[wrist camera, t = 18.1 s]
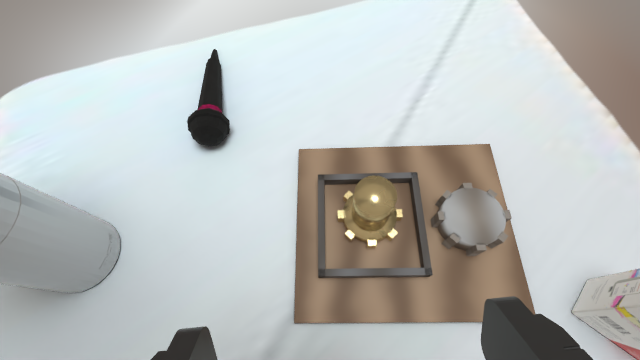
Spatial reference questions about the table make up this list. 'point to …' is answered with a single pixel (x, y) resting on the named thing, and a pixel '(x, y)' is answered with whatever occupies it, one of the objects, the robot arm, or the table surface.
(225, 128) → the microphone
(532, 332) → the robot arm
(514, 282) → the carrier plate
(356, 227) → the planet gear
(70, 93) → the table surface
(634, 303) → the ink cartridge box
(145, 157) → the table surface
